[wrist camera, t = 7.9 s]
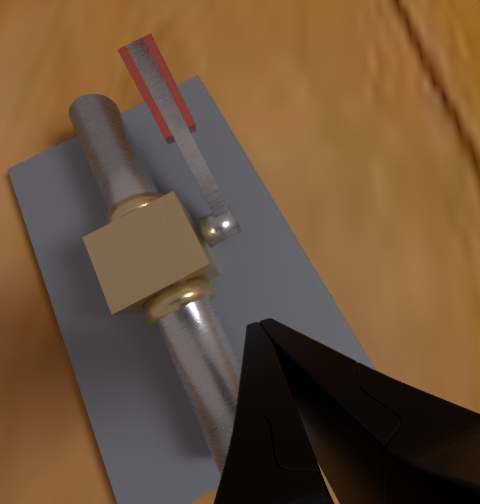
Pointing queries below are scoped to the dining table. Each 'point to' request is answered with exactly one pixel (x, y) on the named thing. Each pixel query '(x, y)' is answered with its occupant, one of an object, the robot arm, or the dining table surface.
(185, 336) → the valve
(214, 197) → the lever
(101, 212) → the mounting board
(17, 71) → the dining table surface
